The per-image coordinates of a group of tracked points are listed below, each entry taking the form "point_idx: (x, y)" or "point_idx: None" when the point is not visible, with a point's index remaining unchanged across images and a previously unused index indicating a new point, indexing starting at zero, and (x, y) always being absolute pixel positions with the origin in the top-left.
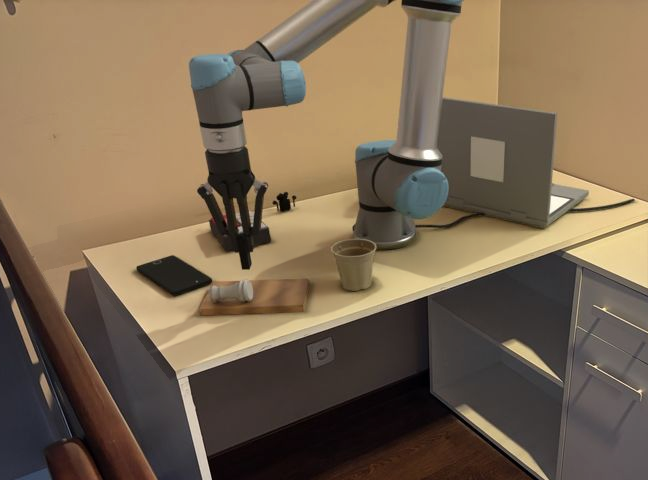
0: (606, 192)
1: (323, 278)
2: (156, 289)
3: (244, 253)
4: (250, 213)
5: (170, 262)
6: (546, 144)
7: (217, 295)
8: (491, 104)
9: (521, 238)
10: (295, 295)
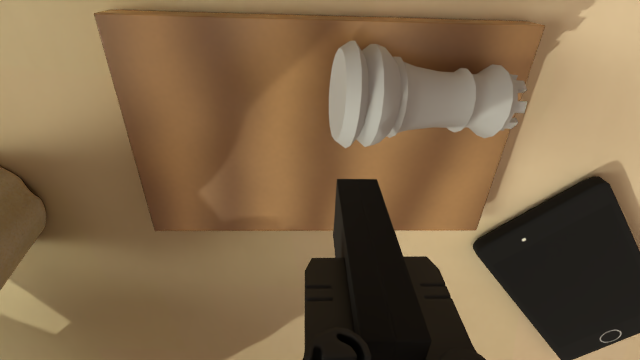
0: None
1: (131, 247)
2: (636, 220)
3: (361, 242)
4: None
5: (578, 333)
6: None
7: (480, 76)
8: None
9: None
10: (159, 106)
